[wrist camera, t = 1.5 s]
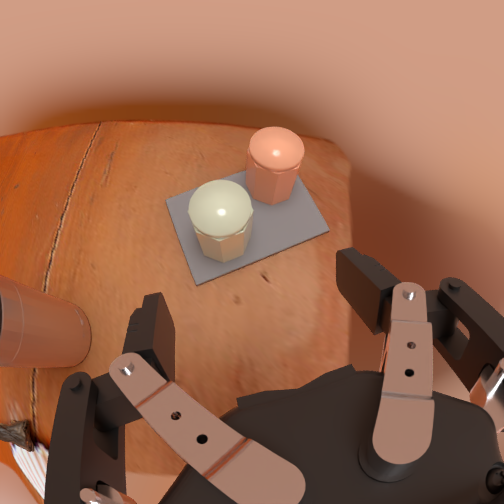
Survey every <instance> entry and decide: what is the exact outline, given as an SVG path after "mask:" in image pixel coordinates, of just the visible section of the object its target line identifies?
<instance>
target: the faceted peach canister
mask: <svg viewBox="0 0 504 504" xmlns="http://www.w3.org/2000/svg"><path fill="white" fill-rule="evenodd" d="M304 153H305V152H304V145H303V143H302V141H301V139H300V138H299V137H298V136H297V135H296V134H295V133H293V132H292V131H290V130H287V129H285V128H281V127H267V128H263V129H261V130H259V131H257V132H256V133H255V134H254V135H253V136H252V138H251V140H250V146H249V148H248V150H247V164H246V185H247V187H248V189H249V191H250V193H251V195H252V197H253V199H255V200H258V201H261V202H264V203H266V204H269V205H274V204H277V203H280V202H282V201H285V200H288V199H289V197H290V195H291V192H292V189H293V187H294V184H295V181H296V178H297V175H298V172H299V169H300V165H301V162H302V159H303V156H304Z"/></svg>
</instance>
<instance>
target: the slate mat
mask: <svg viewBox="0 0 504 504" xmlns="http://www.w3.org/2000/svg"><path fill="white" fill-rule="evenodd" d="M219 180H228V181H232V182H235V183H237V184H239V185H240V186H241V187H243V188H244V189H245V191H246V192H247V193H248V195H249V197H250V200H251V206H252V208H253V210H254V211H253V221H252V230H251V238H250V240H249V242H248V245H247V247H246V249H245V252H244V254H243V255H242V256H240V257H237V258H235V259H232V260H230V261H227V262H225V263H222V262H220V261H217V260H215V259H212V258H209V257H207V256H204V254H203V251H202V248H201V246H200V243H199V241H198V238H197V236H196V233H195V231H194V228H193V225H192V222H191V219H190V217H189V214H188V210H189V202H190V199H191V197H192V195H193V194H194V192H195V191H196V190H197V189H198V188H199V187H197V188H195V189H192V190H189V191H187V192H184V193H182V194H179V195H176V196H174V197H171V198H169V199H166V203H167V206H168V209H169V212H170V215H171V218H172V221H173V224H174V227H175V229H176V232H177V235H178V238H179V241H180V243H181V246H182V249H183V252H184V254H185V257H186V260H187V262H188V265H189V268H190V270H191V273H192V275H193V278H194V280H195V283H196V285H197V286H199V285H201V284H203V283H206V282H208V281H211V280H213V279H216V278H218V277H221V276H223V275H225V274H228V273H230V272H233V271H235V270H238V269H240V268H243V267H245V266H247V265H250V264H252V263H255V262H257V261H259V260H262V259H264V258H267V257H269V256H272V255H274V254H276V253H279V252H281V251H284V250H286V249H288V248H291V247H293V246H296V245H298V244H300V243H303V242H305V241H307V240H310V239H312V238H315V237H317V236H319V235H322V234H324V233H326V232H329V230H330V229H329V227H328V226H327V224H326V222H325V220H324V219H323V217H322V215H321V213H320V211H319V210H318V208H317V206H316V205H315V203H314V201H313V199H312V198H311V196H310V194H309V193H308V191H307V189H306V188H305V186H304V184H303V183H302V181H301V179H300V178H299V176H298V175H297V178H296V181H295V184H294V187H293V189H292V192H291V195H290V197H289V199H288V200H285V201H282V202H280V203H277V204H274V205H269V204H266V203H264V202H261V201H258V200H255V199H253V197H252V195H251V193H250V191H249V189H248V187H247V185H246V170H245V171H242V172H239V173H236V174H233V175H231V176H228V177H225V178H222V179H219ZM200 187H201V186H200Z"/></svg>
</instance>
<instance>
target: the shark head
mask: <svg viewBox="0 0 504 504" xmlns="http://www.w3.org/2000/svg"><path fill="white" fill-rule="evenodd" d="M11 421H12V422H11V423H12V425H7V424H3V423H0V440H2V441H5V442H12V443H14V444H16V445H17V446H19V447H21V448H23V449H26V450H27V451H29V452H31V451H32V452H33V451H34V450H33V447H34V445H33V443H32V441H31V439H30V429H29V423H28V420H24V421H18V422H15V421H14V420H11Z"/></svg>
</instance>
